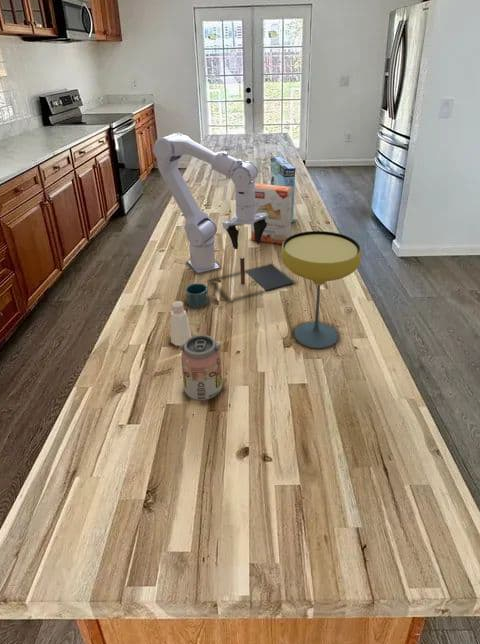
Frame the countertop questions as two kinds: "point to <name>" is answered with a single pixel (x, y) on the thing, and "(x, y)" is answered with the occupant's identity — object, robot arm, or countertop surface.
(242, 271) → the stirring stick
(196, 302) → the espresso cup
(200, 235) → the robot arm
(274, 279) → the mat
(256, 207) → the cracker box
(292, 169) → the blue upright flat box
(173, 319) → the pepper shaker
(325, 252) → the cocktail glass
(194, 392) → the beverage can
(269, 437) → the countertop surface
